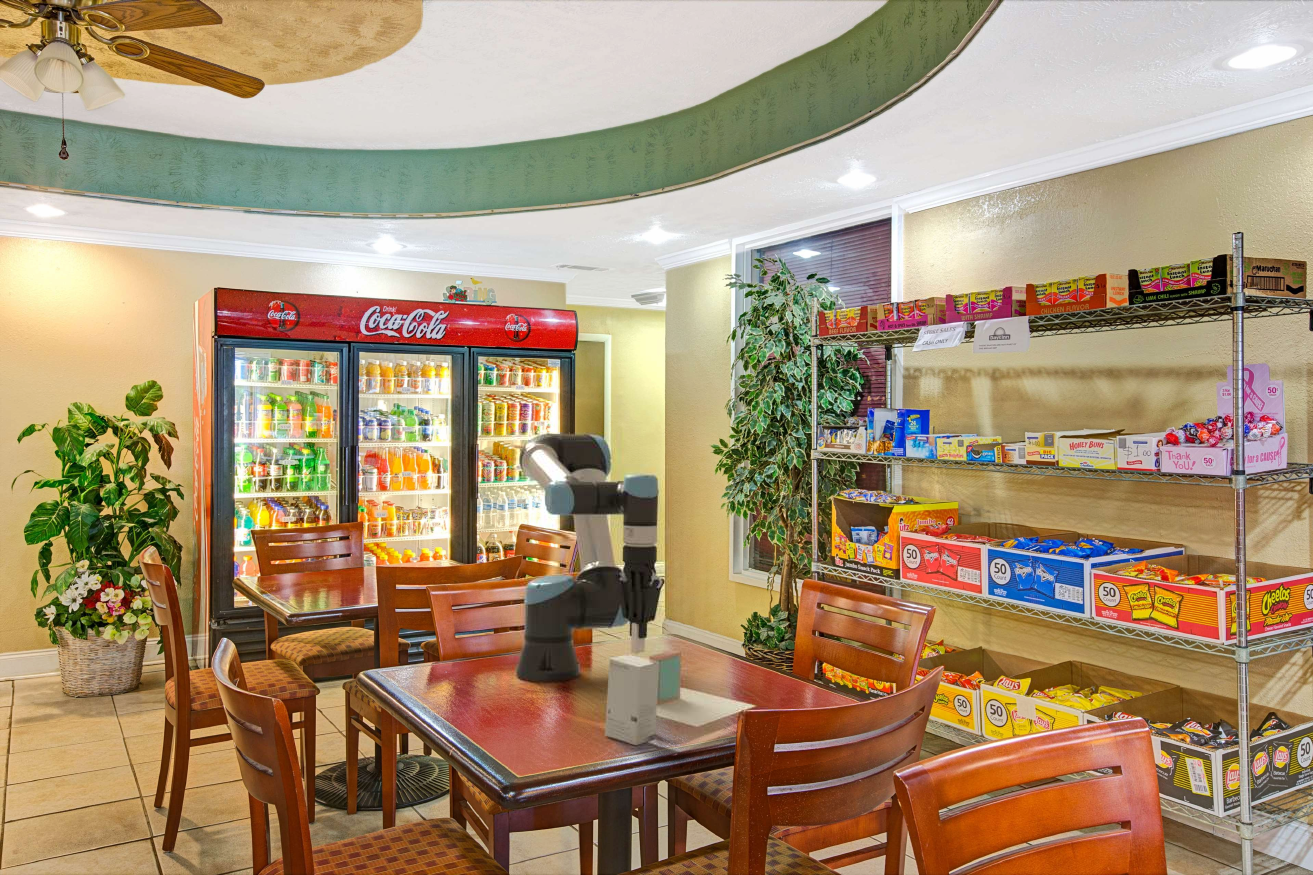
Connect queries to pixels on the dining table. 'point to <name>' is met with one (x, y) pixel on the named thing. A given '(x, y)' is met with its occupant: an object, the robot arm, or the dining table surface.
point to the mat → (699, 708)
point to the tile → (668, 676)
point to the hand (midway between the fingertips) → (637, 652)
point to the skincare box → (632, 699)
